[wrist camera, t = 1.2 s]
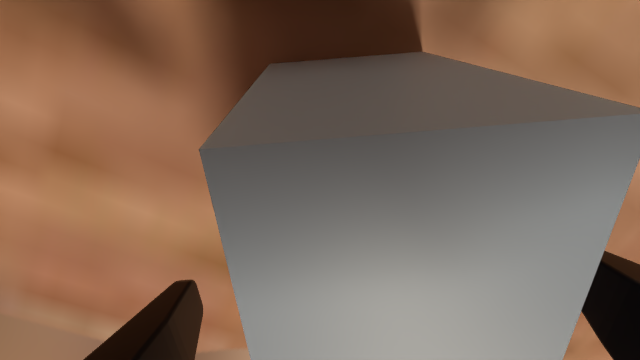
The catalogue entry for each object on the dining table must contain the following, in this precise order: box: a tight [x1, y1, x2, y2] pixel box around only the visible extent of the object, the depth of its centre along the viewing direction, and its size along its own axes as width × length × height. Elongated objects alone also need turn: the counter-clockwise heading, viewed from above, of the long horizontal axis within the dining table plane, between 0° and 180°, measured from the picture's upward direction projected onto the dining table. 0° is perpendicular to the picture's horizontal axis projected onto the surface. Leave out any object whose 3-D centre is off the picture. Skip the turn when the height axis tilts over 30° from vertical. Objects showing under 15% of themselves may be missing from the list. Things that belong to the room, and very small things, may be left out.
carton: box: [199, 52, 640, 360], centre depth 9 cm, size 5×9×8 cm, turn 4°
